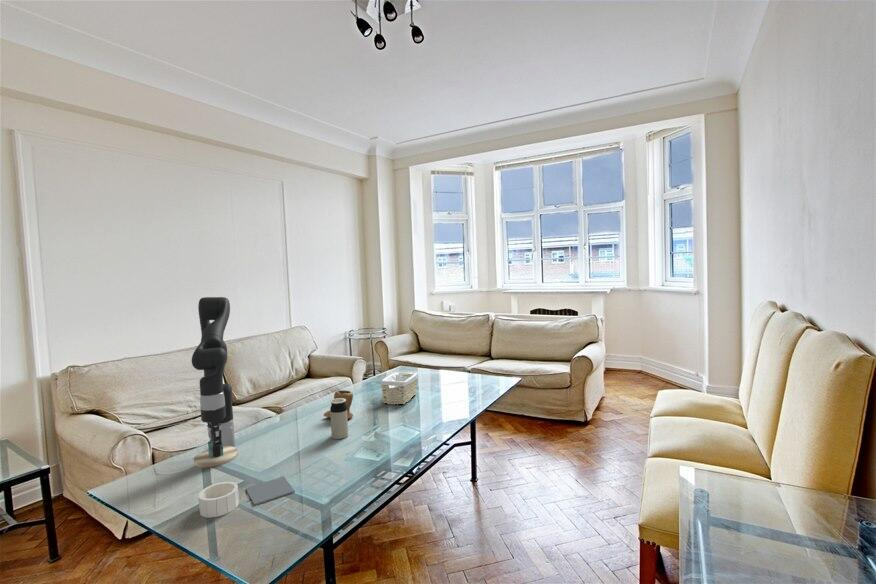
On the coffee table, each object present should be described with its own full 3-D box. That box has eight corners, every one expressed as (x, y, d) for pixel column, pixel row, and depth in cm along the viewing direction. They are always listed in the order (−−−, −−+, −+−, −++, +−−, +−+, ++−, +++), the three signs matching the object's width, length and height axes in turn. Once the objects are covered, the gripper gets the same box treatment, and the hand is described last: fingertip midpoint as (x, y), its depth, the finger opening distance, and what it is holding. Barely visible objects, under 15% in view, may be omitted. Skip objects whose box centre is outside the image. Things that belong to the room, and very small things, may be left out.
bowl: (197, 505, 149) (196, 489, 149) (234, 494, 156) (233, 478, 156) (202, 521, 139) (201, 504, 139) (241, 508, 146) (240, 491, 146)
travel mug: (344, 439, 203) (342, 403, 202) (328, 439, 204) (327, 402, 203) (350, 433, 211) (349, 398, 210) (335, 432, 212) (334, 397, 211)
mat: (246, 489, 159) (245, 488, 159) (283, 477, 167) (283, 476, 167) (254, 505, 148) (254, 504, 148) (294, 492, 156) (294, 490, 156)
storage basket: (396, 393, 277) (395, 370, 276) (419, 394, 272) (418, 372, 271) (380, 404, 254) (379, 380, 253) (405, 406, 249) (404, 382, 248)
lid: (191, 456, 148) (190, 440, 148) (233, 446, 156) (232, 431, 156) (196, 471, 137) (195, 454, 137) (241, 459, 145) (240, 443, 145)
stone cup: (358, 415, 236) (357, 389, 235) (344, 423, 225) (342, 395, 224) (337, 412, 243) (336, 386, 242) (323, 419, 233) (321, 392, 232)
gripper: (197, 402, 149) (201, 450, 150) (203, 413, 138) (206, 464, 139) (221, 398, 154) (224, 444, 155) (228, 408, 142) (231, 458, 143)
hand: (216, 453), depth 147 cm, fingers closed on lid, 4 cm apart
